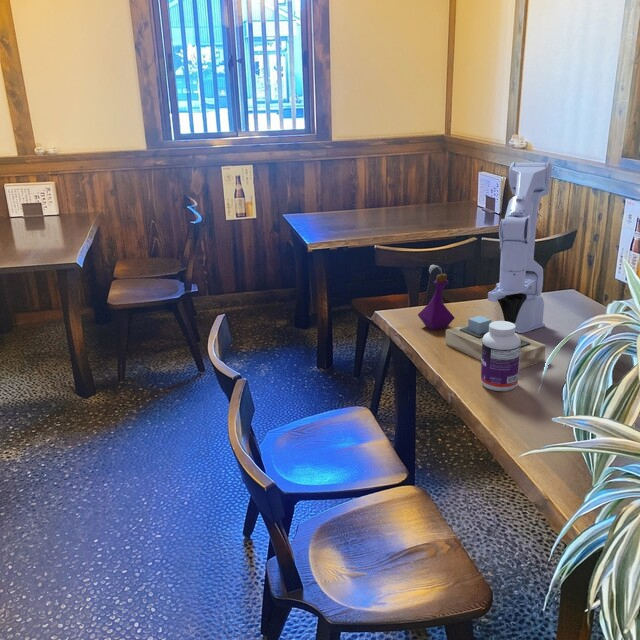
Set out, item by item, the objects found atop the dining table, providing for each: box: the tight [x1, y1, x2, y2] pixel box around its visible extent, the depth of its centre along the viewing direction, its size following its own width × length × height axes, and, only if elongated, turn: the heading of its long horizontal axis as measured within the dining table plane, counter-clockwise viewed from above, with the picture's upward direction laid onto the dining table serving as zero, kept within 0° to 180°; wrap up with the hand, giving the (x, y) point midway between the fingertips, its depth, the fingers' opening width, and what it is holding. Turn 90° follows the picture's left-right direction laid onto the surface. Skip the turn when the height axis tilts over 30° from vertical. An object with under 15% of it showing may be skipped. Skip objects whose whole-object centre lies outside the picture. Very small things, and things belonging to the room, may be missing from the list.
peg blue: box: [467, 315, 492, 335], centre depth 158 cm, size 4×4×4 cm
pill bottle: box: [480, 320, 521, 392], centre depth 136 cm, size 8×8×14 cm
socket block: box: [445, 323, 547, 370], centre depth 155 cm, size 12×22×4 cm, turn 30°
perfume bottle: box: [417, 264, 455, 331], centre depth 171 cm, size 8×8×18 cm
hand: (509, 323), depth 149 cm, fingers closed
